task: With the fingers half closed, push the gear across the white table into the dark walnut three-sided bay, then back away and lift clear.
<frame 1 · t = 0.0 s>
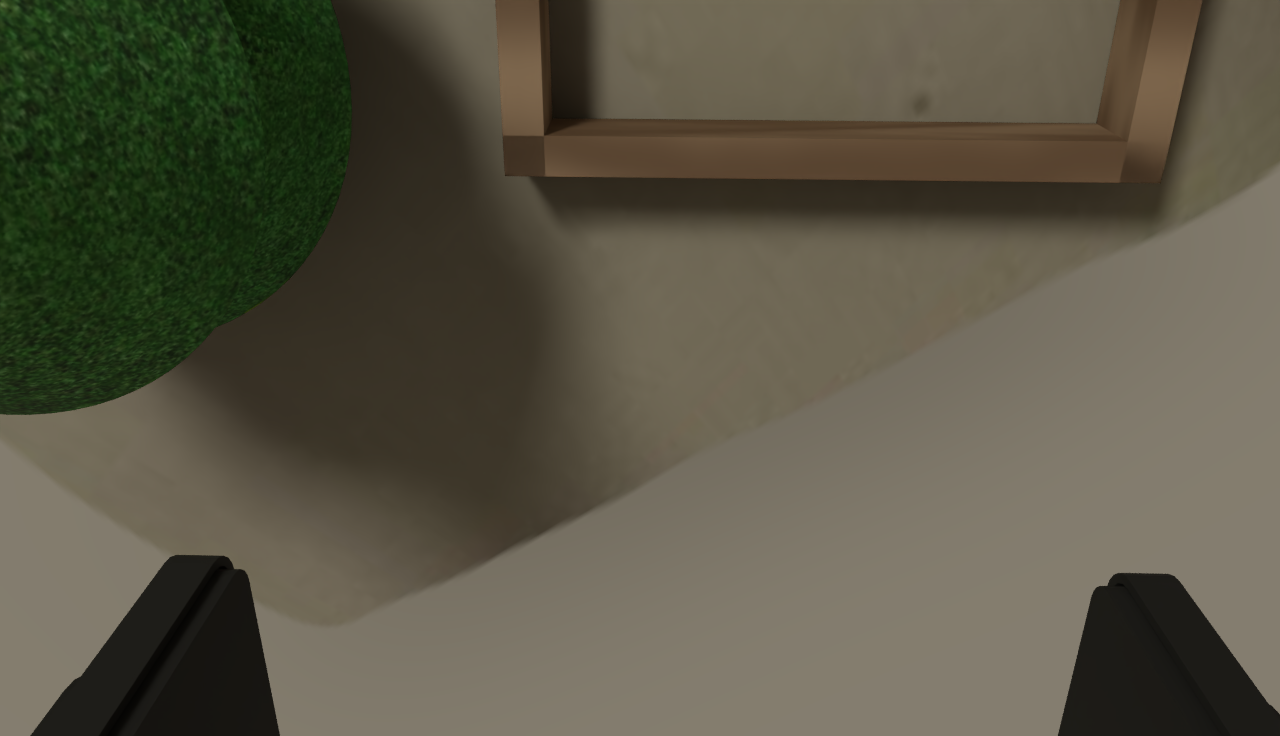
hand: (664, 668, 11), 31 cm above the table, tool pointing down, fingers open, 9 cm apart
decorative tree: (148, 47, 39), on the table
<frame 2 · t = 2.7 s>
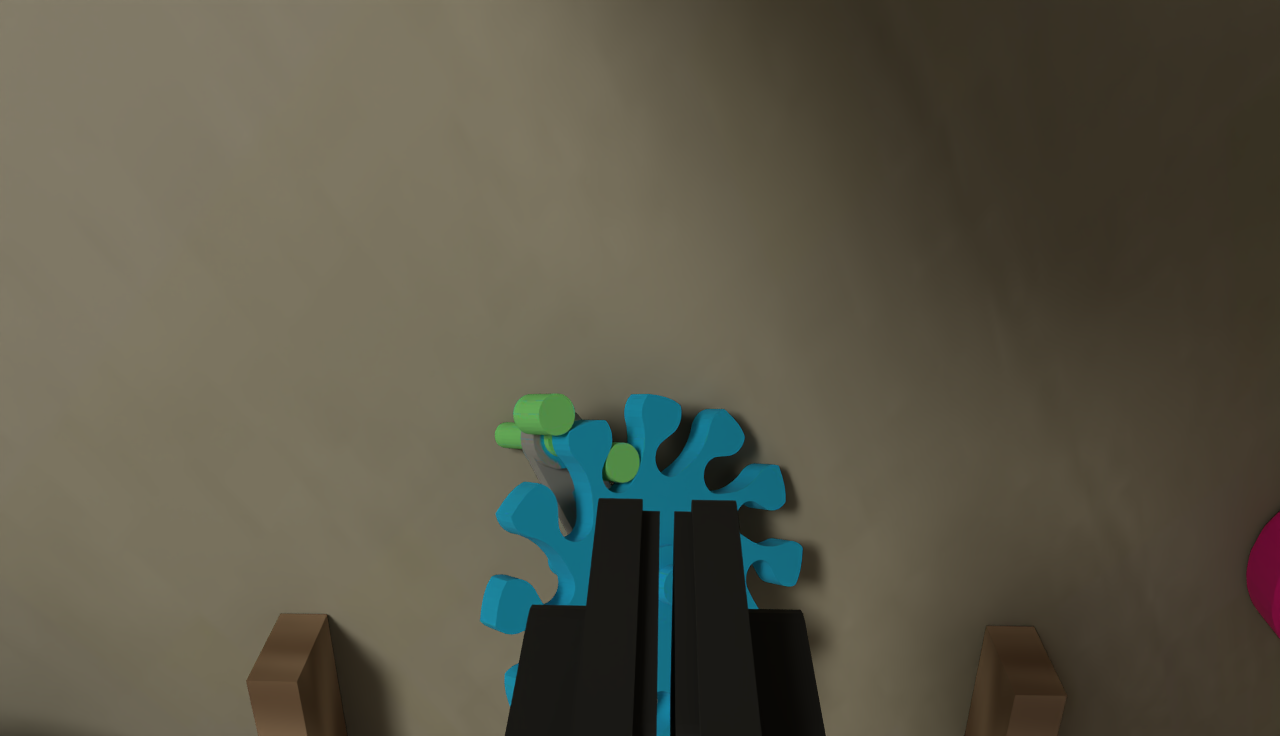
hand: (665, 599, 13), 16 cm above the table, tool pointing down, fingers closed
gear: (647, 484, 31), on the table
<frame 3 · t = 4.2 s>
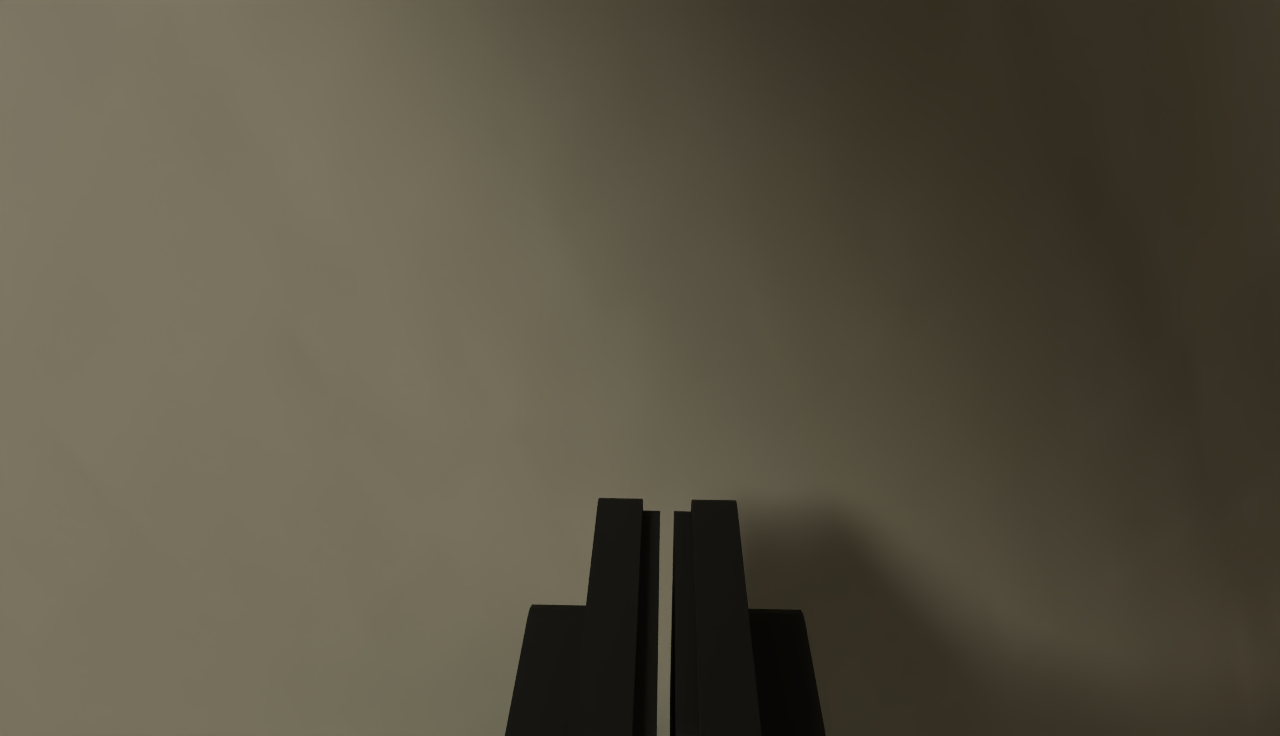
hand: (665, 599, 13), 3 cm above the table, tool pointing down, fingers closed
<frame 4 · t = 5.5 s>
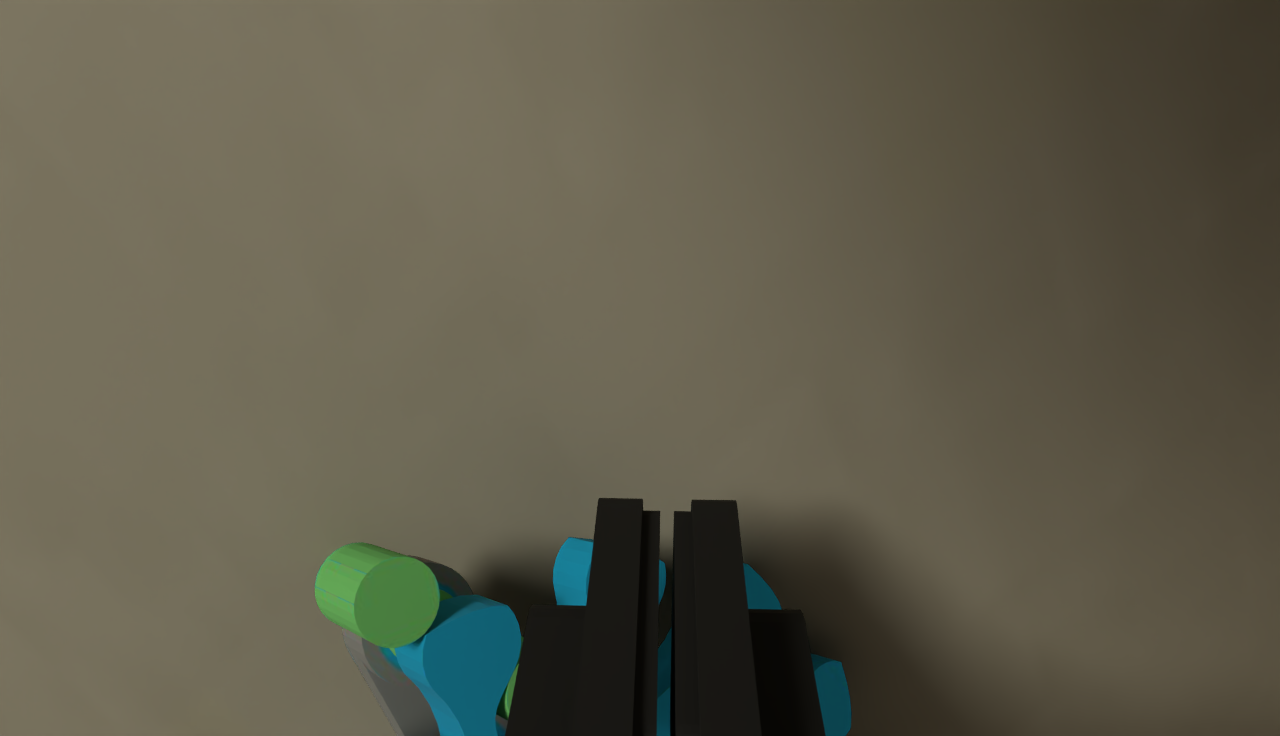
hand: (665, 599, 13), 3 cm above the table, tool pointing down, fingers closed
gear: (599, 674, 17), on the table, touching gripper
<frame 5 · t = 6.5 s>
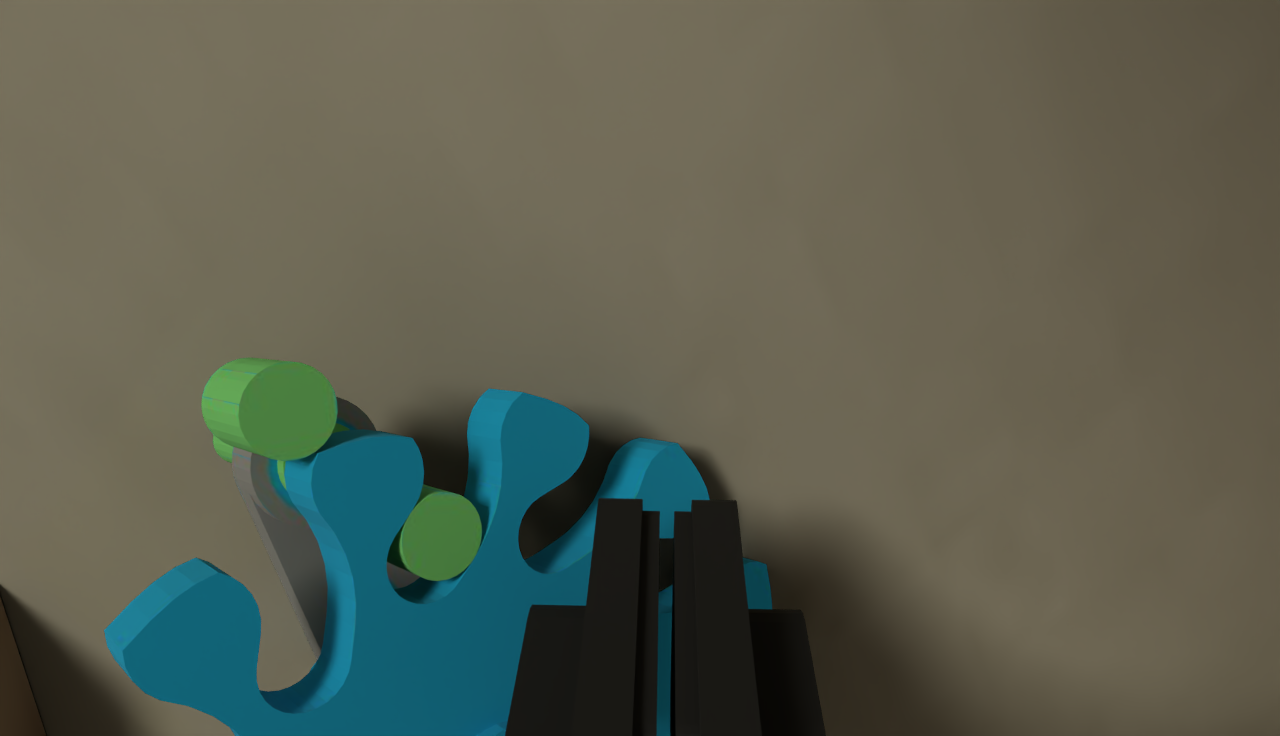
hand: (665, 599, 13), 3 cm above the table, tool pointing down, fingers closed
gear: (512, 563, 16), on the table, touching gripper
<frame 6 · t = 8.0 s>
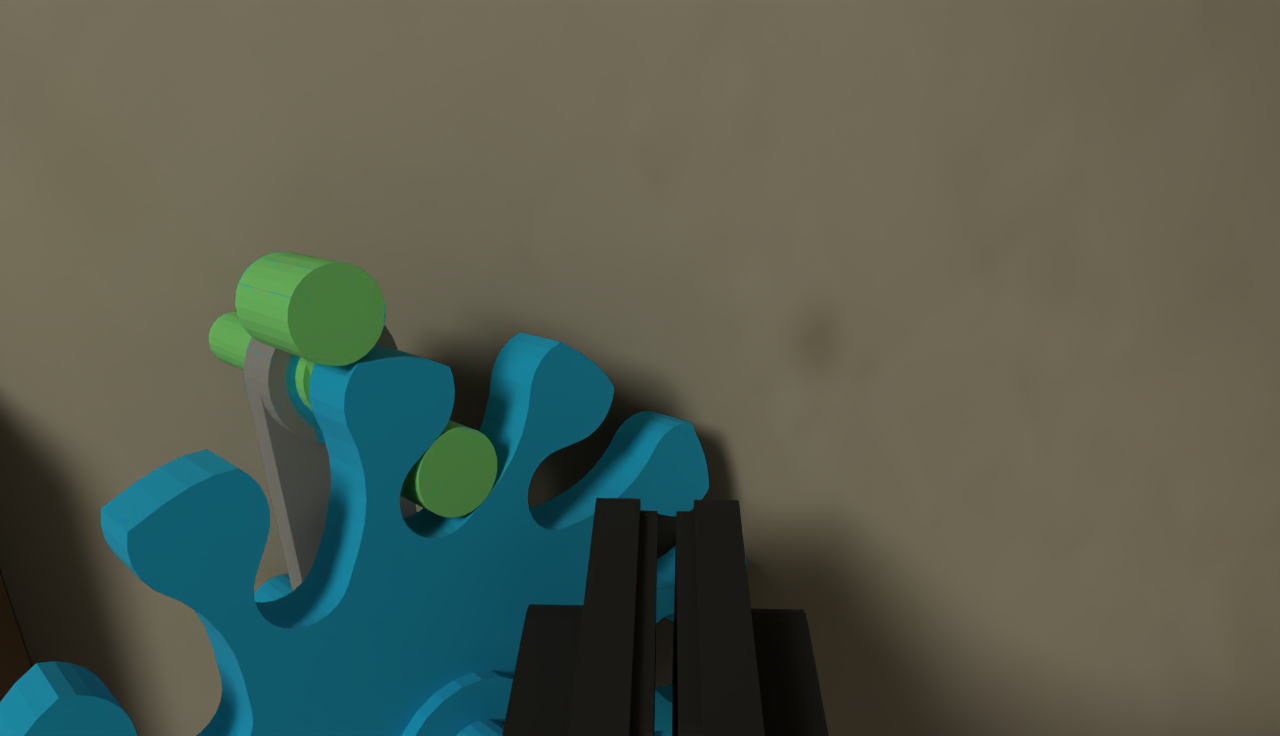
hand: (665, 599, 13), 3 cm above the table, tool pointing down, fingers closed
gear: (486, 515, 16), on the table, touching gripper
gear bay: (663, 715, 17), on the table
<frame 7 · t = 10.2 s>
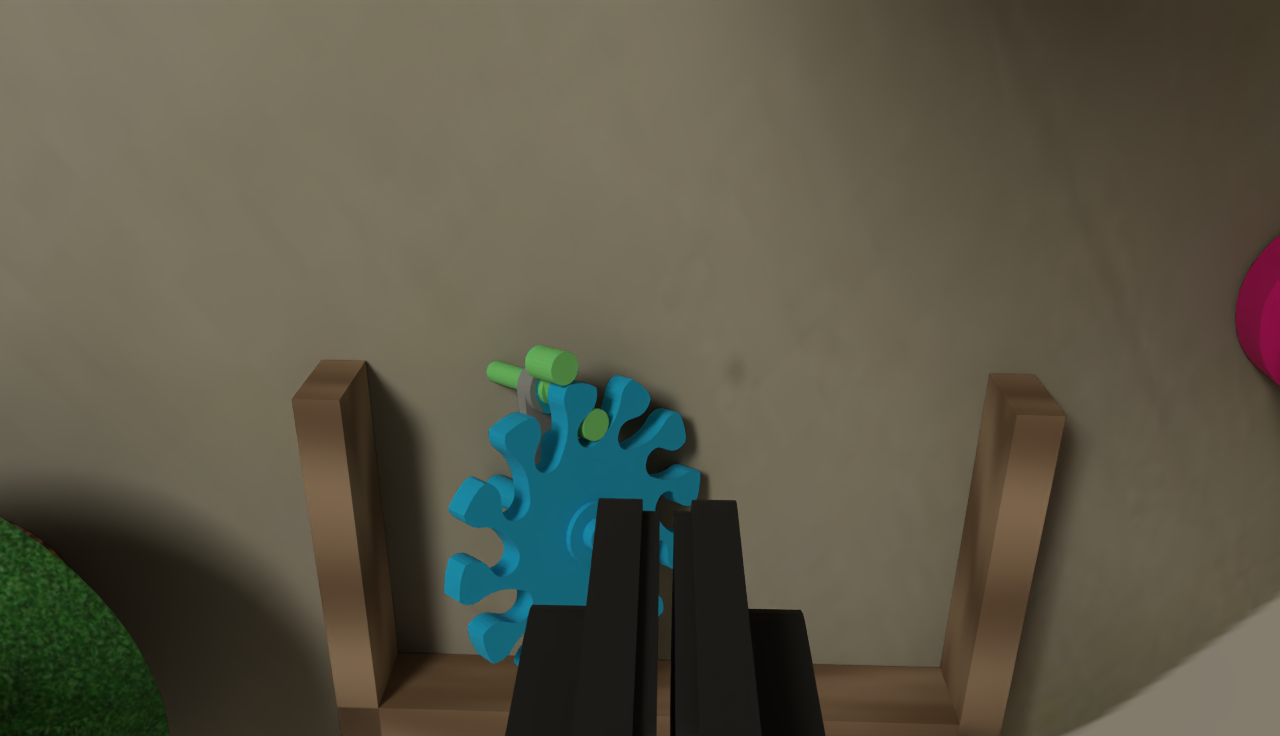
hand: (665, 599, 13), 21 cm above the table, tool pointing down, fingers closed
gear: (588, 451, 36), on the table
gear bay: (670, 541, 37), on the table
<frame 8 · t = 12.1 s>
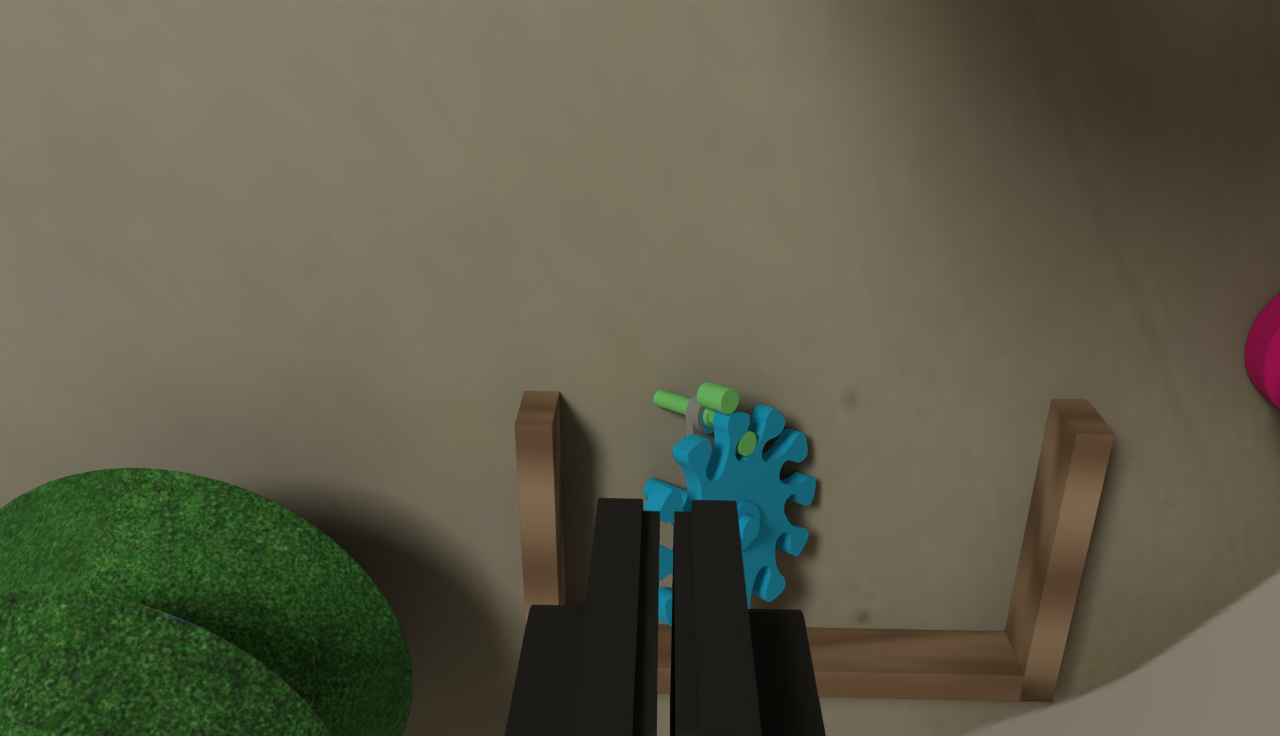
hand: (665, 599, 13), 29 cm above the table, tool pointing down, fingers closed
decorative tree: (241, 571, 49), on the table
gear: (726, 461, 46), on the table
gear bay: (792, 531, 47), on the table
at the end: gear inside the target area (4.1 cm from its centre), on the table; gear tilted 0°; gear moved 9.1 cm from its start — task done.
